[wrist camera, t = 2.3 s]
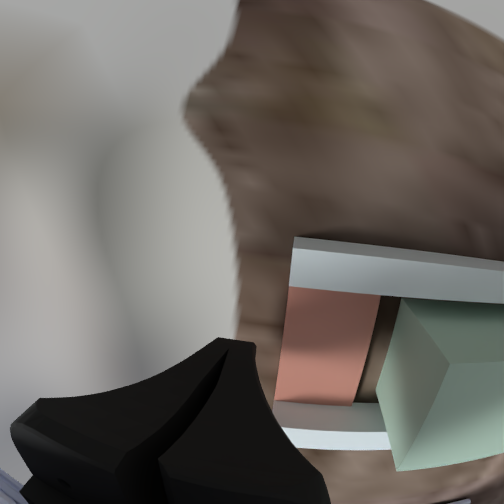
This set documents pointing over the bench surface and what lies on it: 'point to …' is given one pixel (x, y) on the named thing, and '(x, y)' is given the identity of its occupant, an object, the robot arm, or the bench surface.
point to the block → (444, 383)
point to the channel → (355, 330)
